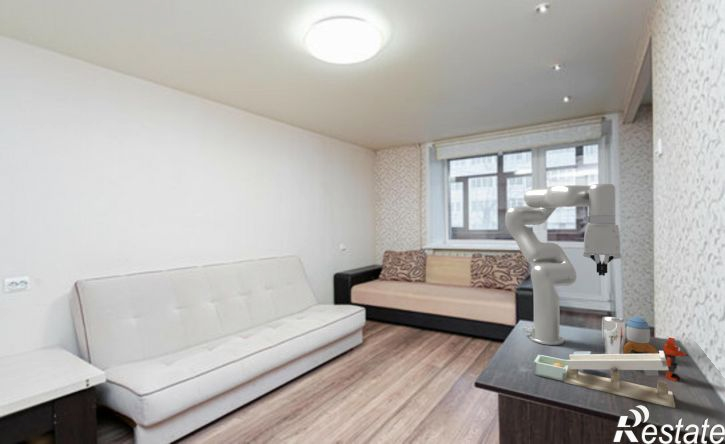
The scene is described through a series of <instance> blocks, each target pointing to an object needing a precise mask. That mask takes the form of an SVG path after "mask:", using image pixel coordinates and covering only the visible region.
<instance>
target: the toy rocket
mask: <svg viewBox="0 0 725 444" xmlns="http://www.w3.org/2000/svg"><path fill="white" fill-rule="evenodd" d="M626 340H627V343H625V345H624V350H623V354H631V352H633V353H632V354H644V353H645V352H646V353H647V352H648V354H659V353H658V352H659V351H658V350H657V349H656V348H655V347H654V346H653V345H651V344H650V340H651V330H650V325H649V324H648V321H646V320H645V319H644V318H642V317H639V316H633V317H631V318H629V320H627V323H626ZM632 350H633V351H632Z"/></svg>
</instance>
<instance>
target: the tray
mask: <svg viewBox="0 0 725 444" xmlns="http://www.w3.org/2000/svg"><path fill="white" fill-rule="evenodd" d="M567 360H568V359H564V358H563V359H562V358H559V357H553V356H548V355H544V354H537V356H536V358H535V359H534V360H533V375H534V376H539V377H542V378H546V379H547V378H548V379H551V380H556V381H561V382H563V379H566V377H567V374H568V371H569V366H568V362H567ZM555 363H560V364H561V365H562V366H563V367H564V368H563V367H559V366H554V364H555Z"/></svg>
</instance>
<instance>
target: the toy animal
mask: <svg viewBox="0 0 725 444" xmlns="http://www.w3.org/2000/svg"><path fill="white" fill-rule="evenodd" d="M675 339H676V338H675V337H669V336H668V339H667V340H666V343H665V344H664V345H663V346H664V347H663V352H664V355H665V358H666V362H667V366H668V369H669V370H665V371H666V373H665V378H666V379H667V380H670V381H673V382H680V381H681V377H680V375H678V374H677V373H674V372H676V370H677V366H678V363H677V362H676V361H677V357H688V356H689V355H688V353H685V352H683V351H682V350H681V348H680V347H679V346H678V345H675V343H676V342H675Z"/></svg>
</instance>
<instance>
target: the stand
mask: <svg viewBox="0 0 725 444" xmlns="http://www.w3.org/2000/svg"><path fill="white" fill-rule="evenodd" d="M562 382H563V383H565V384H571V385H574V386H579V387H583V388H588V389H592V390H595V391H601V392H604V393H609V394H613V395H618V396H620V397H621V396H622V397H626V398H631V399H635V400H639V401H644V402H648V403H652V404H656V405H661V406H665V407H669V408H674V409H676V403H675V399H674V395H673V391H670V390H669V388H668V383H667V382H666V381H663V380H659V379H658V380H657V381H656V382H657V388H656V387H651V386H647V385H641V384H637V383H632V382H630V381H629V382H628V381H623V380H621V370H619V368H616V367H611V370H610V377H604V376H601V375H594V374H590V373H586V372H582V371H579V369H569V371H568V374H567V377H566V379H563V381H562Z"/></svg>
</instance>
